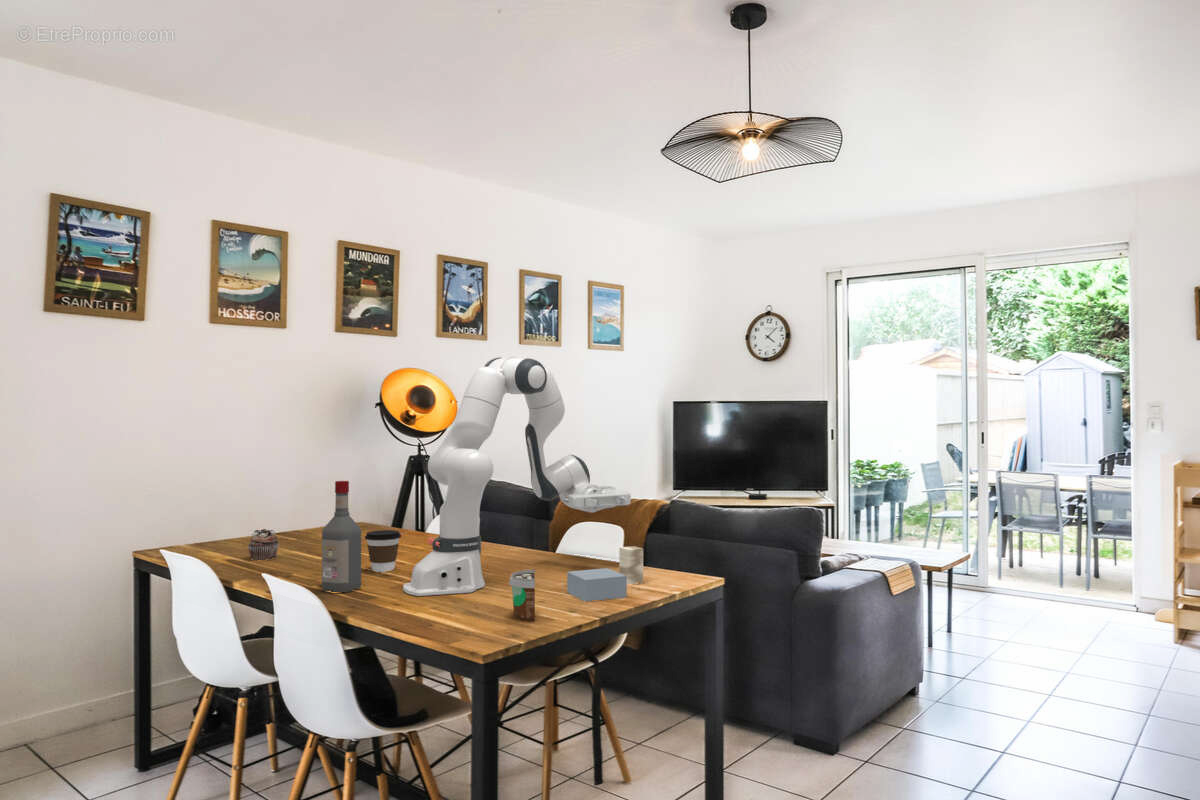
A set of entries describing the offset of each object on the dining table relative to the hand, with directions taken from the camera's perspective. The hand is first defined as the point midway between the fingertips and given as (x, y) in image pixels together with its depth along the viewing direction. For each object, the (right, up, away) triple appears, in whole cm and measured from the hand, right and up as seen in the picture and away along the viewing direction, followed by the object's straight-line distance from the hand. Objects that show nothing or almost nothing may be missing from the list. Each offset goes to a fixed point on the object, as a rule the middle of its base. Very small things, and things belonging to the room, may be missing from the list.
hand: (610, 502), depth 235 cm
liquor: (-75, -22, -19) cm, 80 cm away
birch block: (+6, -22, -11) cm, 25 cm away
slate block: (-4, -22, -27) cm, 35 cm away
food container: (-22, -21, -49) cm, 57 cm away
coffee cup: (-71, -23, +7) cm, 75 cm away
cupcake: (-117, -23, +29) cm, 123 cm away
